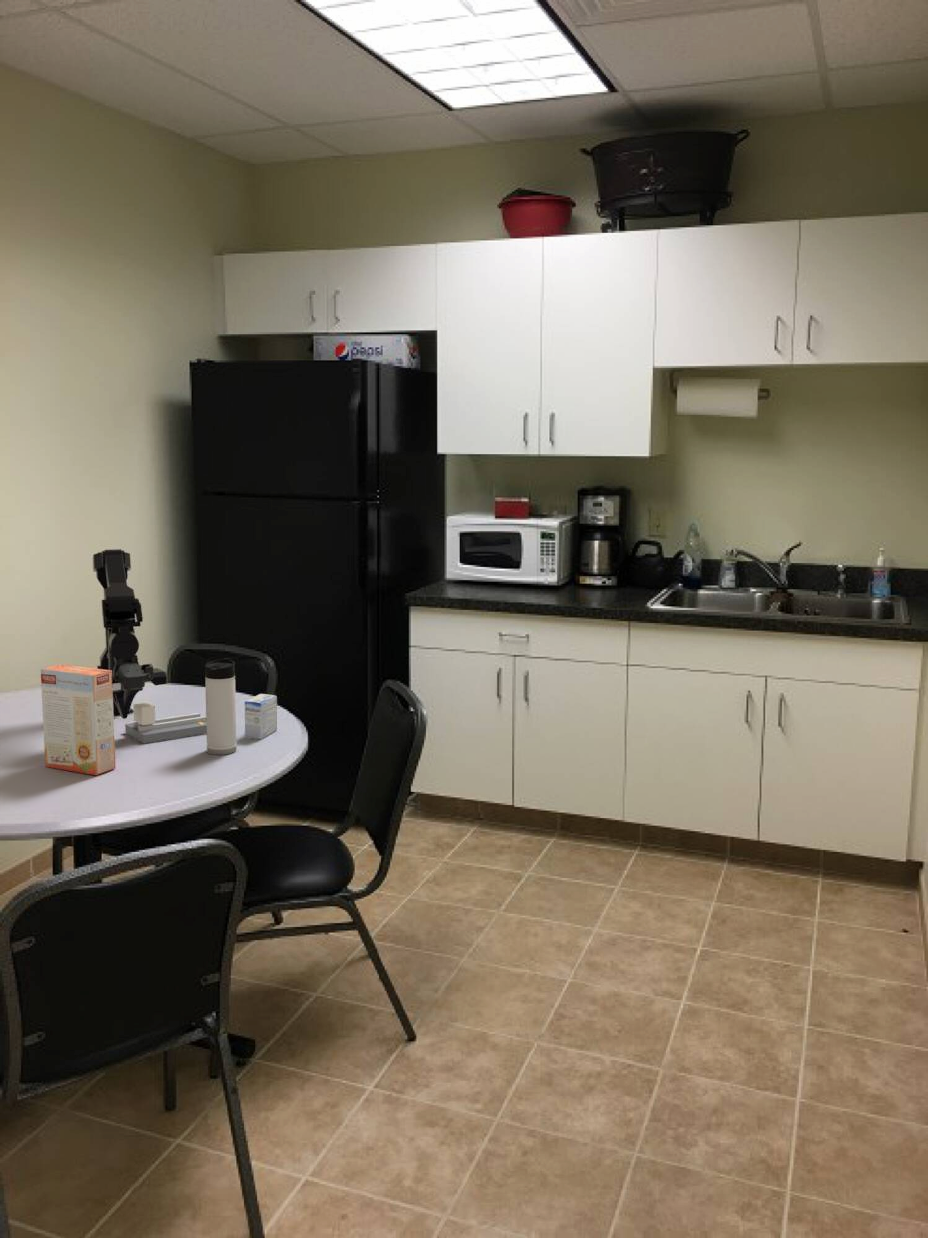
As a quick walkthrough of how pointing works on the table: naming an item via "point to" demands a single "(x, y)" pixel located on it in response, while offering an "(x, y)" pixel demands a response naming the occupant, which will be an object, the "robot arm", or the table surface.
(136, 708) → the fader
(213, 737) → the travel mug
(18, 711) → the table surface
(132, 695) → the robot arm
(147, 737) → the console
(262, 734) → the medicine box
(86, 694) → the cracker box
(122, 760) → the table surface
